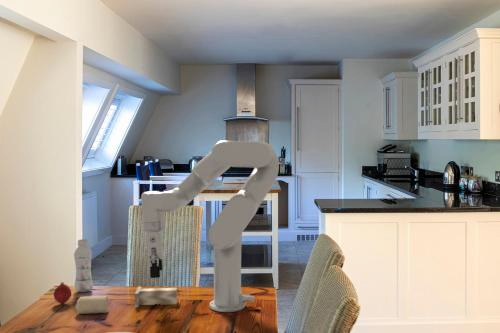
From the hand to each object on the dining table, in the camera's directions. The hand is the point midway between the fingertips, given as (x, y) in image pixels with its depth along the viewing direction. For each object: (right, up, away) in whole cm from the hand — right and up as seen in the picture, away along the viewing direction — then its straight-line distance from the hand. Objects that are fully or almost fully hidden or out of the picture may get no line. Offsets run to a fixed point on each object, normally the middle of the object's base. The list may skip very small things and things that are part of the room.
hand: (156, 273), depth 172 cm
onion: (-33, -11, 0) cm, 35 cm away
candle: (-15, -8, -9) cm, 19 cm away
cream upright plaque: (-1, -11, +1) cm, 11 cm away
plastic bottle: (-31, -10, +14) cm, 35 cm away
